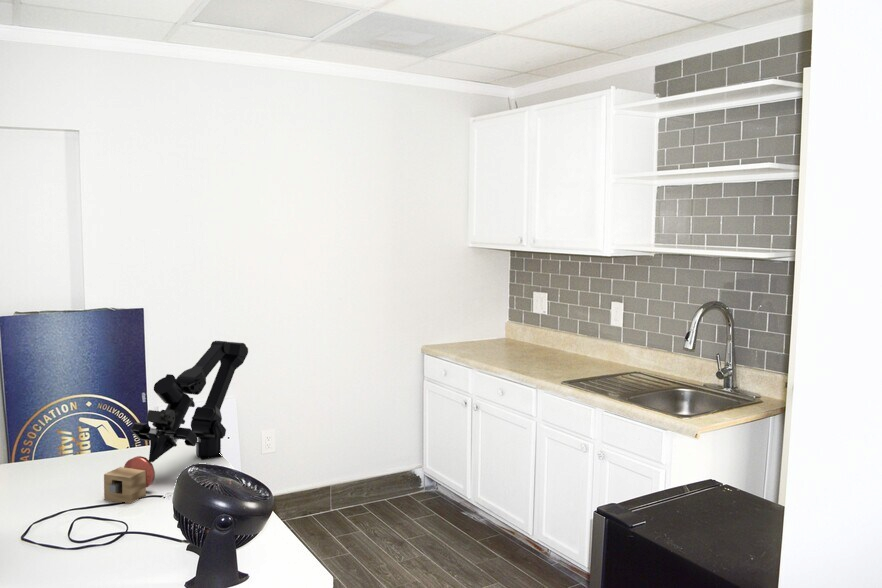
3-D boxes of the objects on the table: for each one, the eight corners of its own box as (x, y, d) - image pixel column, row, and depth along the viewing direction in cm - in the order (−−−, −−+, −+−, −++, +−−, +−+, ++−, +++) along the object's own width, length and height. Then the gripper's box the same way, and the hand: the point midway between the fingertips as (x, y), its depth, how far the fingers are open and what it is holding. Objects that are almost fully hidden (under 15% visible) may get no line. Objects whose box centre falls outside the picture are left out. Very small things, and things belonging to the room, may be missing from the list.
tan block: (120, 491, 188) (120, 466, 188) (145, 495, 186) (145, 470, 186) (104, 499, 183) (103, 474, 182) (130, 503, 180) (129, 477, 180)
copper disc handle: (127, 485, 192) (127, 454, 191) (154, 489, 189) (154, 458, 188) (98, 500, 181) (97, 466, 180) (127, 504, 179) (126, 470, 178)
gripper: (134, 394, 200) (107, 444, 190) (191, 400, 195) (166, 451, 185) (153, 414, 208) (127, 462, 198) (207, 420, 203) (184, 470, 194)
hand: (150, 461), depth 194 cm, fingers closed
